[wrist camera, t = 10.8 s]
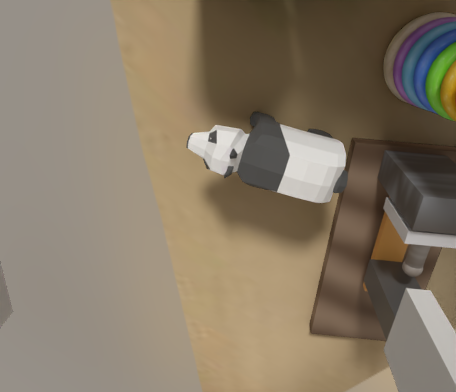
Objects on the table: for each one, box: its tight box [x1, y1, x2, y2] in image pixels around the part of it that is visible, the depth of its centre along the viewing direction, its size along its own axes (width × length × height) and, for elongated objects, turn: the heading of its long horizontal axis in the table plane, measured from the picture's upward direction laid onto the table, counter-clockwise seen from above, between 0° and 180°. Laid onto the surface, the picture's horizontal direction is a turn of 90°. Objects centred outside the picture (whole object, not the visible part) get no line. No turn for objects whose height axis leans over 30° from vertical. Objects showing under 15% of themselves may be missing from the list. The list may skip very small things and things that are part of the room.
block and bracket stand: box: [363, 196, 456, 341], centre depth 38 cm, size 13×6×10 cm, turn 176°
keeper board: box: [310, 138, 456, 341], centre depth 40 cm, size 26×12×12 cm, turn 176°
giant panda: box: [187, 112, 348, 203], centre depth 36 cm, size 15×6×10 cm, turn 76°
